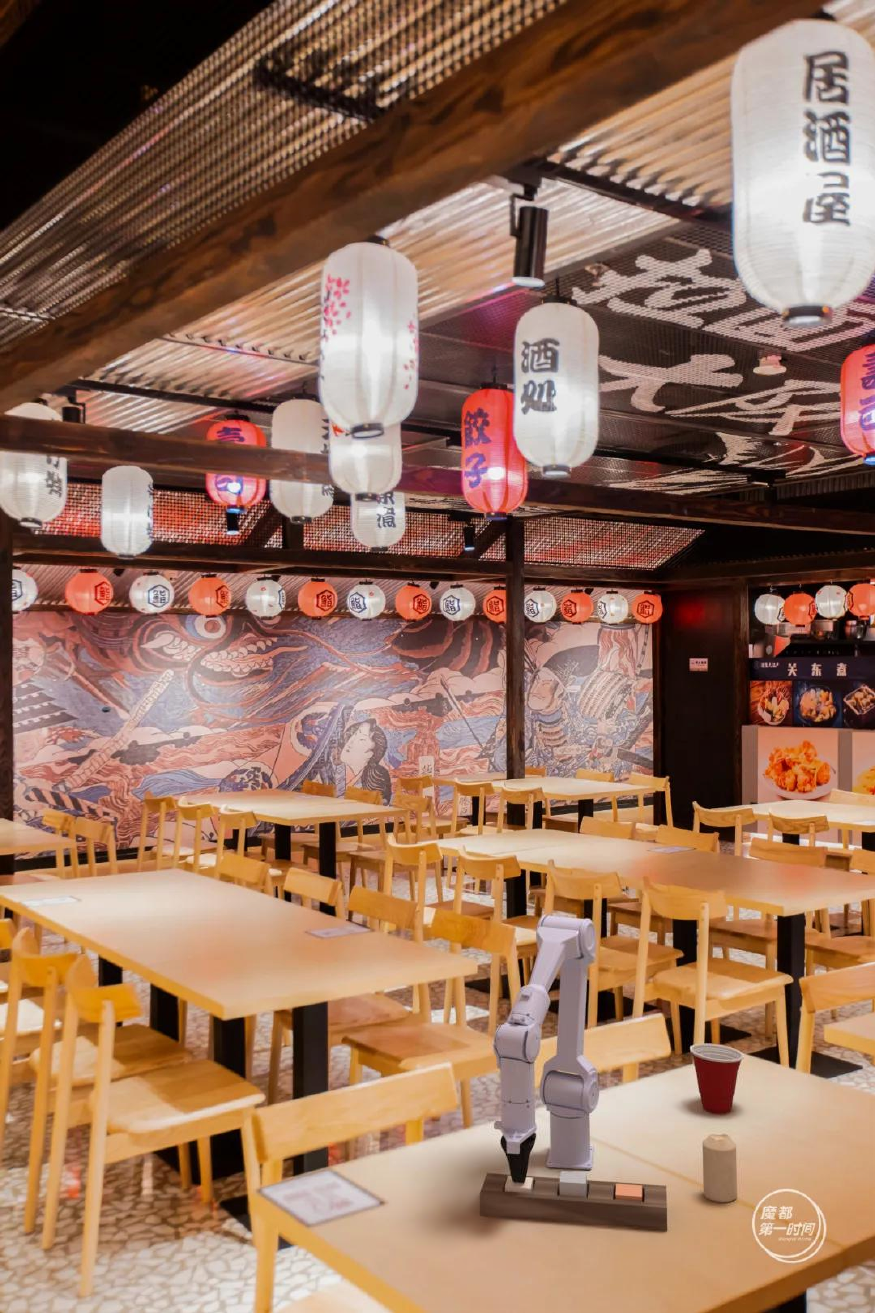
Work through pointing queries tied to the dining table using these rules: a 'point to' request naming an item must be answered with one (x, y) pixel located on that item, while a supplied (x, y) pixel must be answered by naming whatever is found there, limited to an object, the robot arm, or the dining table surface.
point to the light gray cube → (573, 1184)
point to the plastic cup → (716, 1075)
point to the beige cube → (519, 1185)
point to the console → (575, 1203)
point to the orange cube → (628, 1192)
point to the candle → (719, 1168)
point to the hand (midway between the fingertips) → (519, 1180)
